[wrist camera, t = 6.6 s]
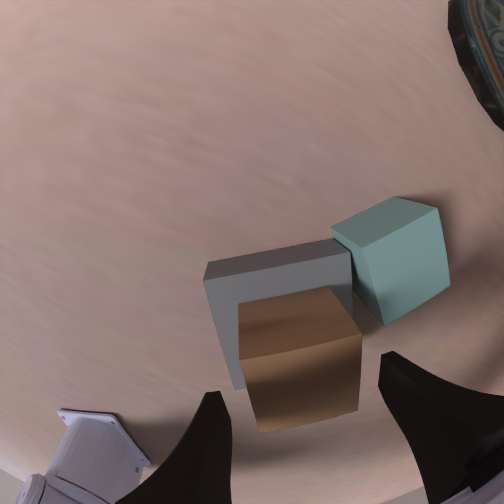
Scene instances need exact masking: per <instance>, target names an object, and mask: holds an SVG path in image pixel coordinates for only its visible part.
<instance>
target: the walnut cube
mask: <svg viewBox="0 0 504 504" xmlns="http://www.w3.org/2000/svg"><path fill="white" fill-rule="evenodd" d="M238 337H239V362H240V366H241V369H242V373H243V376H244V380H245V383H246V387H247V390H248V394H249V397H250V401H251V404H252V407H253V411H254V414H255V417H256V421H257V424H258V427H259V430H260V433H261V432H268V431H274V430H280V429H285V428H290V427H295V426H300V425H304V424H309V423H313V422H317V421H321V420H325V419H329V418H333V417H337V416H340V415H344V414H347V413H351V412H354V411H357V410H358V403H359V391H360V377H361V357H362V332H361V331H360V329H359V328H358V327H357V325H356V324H355V322H354V321H353V320H352V318H351V317H350V315H349V314H348V313H347V311H346V310H345V309H344V307H343V306H342V304H341V303H340V302H339V300H338V299H337V298H336V296H335V295H334V294H333V292H332V291H331V289H330V288H329V287H328V285H327V286H323V287H318V288H314V289H309V290H304V291H300V292H295V293H290V294H285V295H280V296H275V297H270V298H265V299H260V300H254V301H249V302H244V303H238Z"/></svg>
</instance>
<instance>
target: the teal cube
mask: <svg viewBox="0 0 504 504" xmlns="http://www.w3.org/2000/svg"><path fill="white" fill-rule="evenodd" d="M331 230H332V233H333V235H334V238H335V240H336V241H337V242H338V243H339V244H341V245H342V246H343V247H344V248H346V249H347V250H348V251H350V258H351V273H352V288H353V290H354V292H355V293H356V294H357V295H358V297H359V298H360V299H361V300H362V301H363V302H364V303H365V304H366V306H367V307H368V308H369V309H370V310H371V311H372V313H373V314H374V315H375V316H376V317H377V318H378V319H379V321H380V322H381V323H382V324H383V325H384V326H386V325H388V324H390V323H391V322H393V321H395V320H397V319H398V318H400V317H402V316H403V315H405V314H407V313H408V312H410V311H412V310H413V309H415V308H417V307H418V306H420V305H421V304H423V303H425V302H426V301H428V300H429V299H431V298H432V297H434V296H435V295H437V294H438V293H440V292H441V291H443V290H444V289H446V288H447V287H449V286H450V276H449V268H448V261H447V255H446V248H445V242H444V237H443V232H442V227H441V222H440V217H439V213H438V208H436V207H432V206H429V205H425V204H421V203H417V202H413V201H409V200H405V199H401V198H397V197H391V198H389V199H387V200H385V201H383V202H381V203H379V204H377V205H375V206H373V207H371V208H369V209H367V210H365V211H363V212H361V213H359V214H356V215H354V216H352V217H350V218H348V219H346V220H344V221H342V222H340V223H338V224H336V225H334V226H332V227H331Z"/></svg>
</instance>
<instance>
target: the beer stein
mask: <svg viewBox="0 0 504 504" xmlns="http://www.w3.org/2000/svg"><path fill="white" fill-rule="evenodd" d="M448 30H449V33H450V36H451V39H452V42H453V45H454V48H455V52H456V55H457V59H458V62H459V65H460V66H461V68H462V70H463V72H464V74H465V76H466V77H467V79H468V81H469V83H470V85H471V87H472V89H473V91H474V93H475V95H476V97H477V100H478V101H479V103H480V104H481V105H482V107H483V108H484V109H485V111H486V112H487V113H488V115H489V116H490V118H491V119H492V121H493V122H494V123H495V124H496V125H497V126H498V127H499V128H501V129H502V130H503V131H504V0H450V1H448Z"/></svg>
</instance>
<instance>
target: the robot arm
mask: <svg viewBox="0 0 504 504" xmlns="http://www.w3.org/2000/svg"><path fill="white" fill-rule="evenodd" d="M378 387H379V390H380V392H381V395H382V397H383V399H384V401H385V404H386V405H387V407H388V409H389V410H390V412H391V414H392V415H393V417H394V419H395V420H396V422H397V423H398V425H399V427H400V428H401V430H402V432H403V433H404V435H405V437H406V439H407V441H408V443H409V445H410V447H411V450H412V452H413V454H414V457H415V459H416V462H417V465H418V468H419V470H420V473H421V477H422V480H423V483H424V486H425V490H426V494H427V499H428V503H429V504H504V396H500V395H493V394H487V393H482V392H478V391H474V390H470V389H467V388H464V387H461V386H458V385H455V384H453V383H450V382H448V381H446V380H444V379H441V378H439V377H437V376H435V375H433V374H431V373H430V372H428V371H426V370H424V369H422V368H421V367H419V366H417V365H416V364H414V363H412V362H411V361H409V360H407V359H406V358H404V357H403V356H401V355H399V354H398V353H396V352H394V351H391V352H388V353H385V354H382V355H381V363H380V373H379V381H378ZM58 414H59V416H60V417H61V418H62V420H63V421H64V422H65V424H66V425H67V426H68V429H67V431H66V433H65V435H64V437H63V439H62V441H61V443H60V445H59V447H58V449H57V451H56V453H55V455H54V458H53V460H52V462H51V464H50V466H49V468H48V471H47V473H46V475H45V476H42V475H41V474H32V475H30V476H29V477H28V478H27V480H26V481H25V483H24V485H23V487H22V488H21V490H20V492H19V494H18V497H17V499H16V502H15V504H232V501H231V488H230V476H231V457H232V427H231V418H230V416H229V413H228V411H227V408H226V406H225V403H224V400H223V398H222V395H221V392H220V391H214V392H206V393H205V395H204V397H203V399H202V401H201V404H200V406H199V408H198V410H197V412H196V414H195V416H194V418H193V419H192V421H191V423H190V425H189V427H188V429H187V430H186V432H185V433H184V435H183V437H182V438H181V440H180V441H179V443H178V444H177V446H176V447H175V448H174V450H173V451H172V452H171V454H170V455H169V456H168V457H167V459H166V460H165V461H164V462H163V463H162V464H161V465H160V467H159V468H158V469H157V470H156V471H155V472H154V473H153V474H152V475H151V476H150V477H149V478H147V479H146V480H145V481H144V482H143V483H142V484H140V485H139V483H140V479H141V474H142V470H143V466H150V465H151V462H150V461H149V460H148V459H147V458H146V457H145V455H144V454H143V453H142V452H141V450H140V449H139V448H138V447H137V445H136V444H135V443H134V442H133V440H132V439H131V438H130V436H129V435H128V434H127V432H126V431H125V430H124V428H123V427H122V426H121V424H120V423H119V421H118V420H117V418H116V417H115V416H114V415H112V414H101V413H88V412H78V411H69V410H61V409H59V410H58Z"/></svg>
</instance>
